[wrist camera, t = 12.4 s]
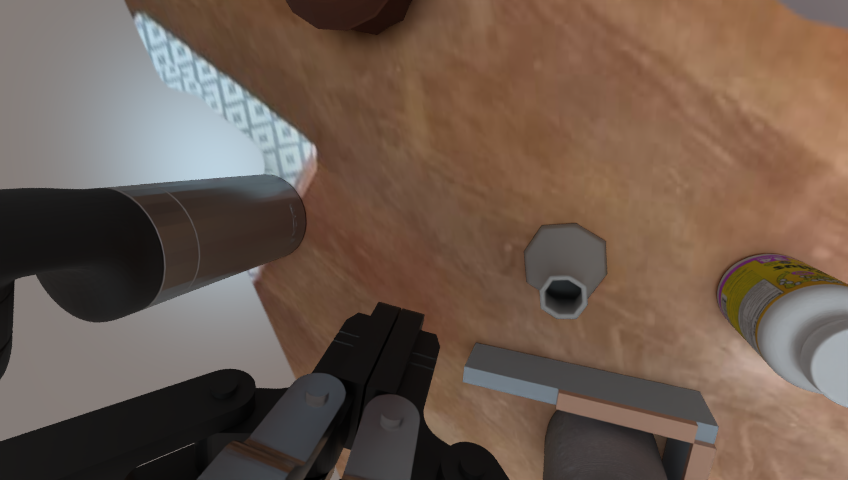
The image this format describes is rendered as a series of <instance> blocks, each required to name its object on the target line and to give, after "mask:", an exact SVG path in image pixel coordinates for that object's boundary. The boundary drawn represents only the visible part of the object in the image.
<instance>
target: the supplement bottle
mask: <svg viewBox="0 0 848 480" xmlns="http://www.w3.org/2000/svg"><path fill="white" fill-rule="evenodd" d="M717 300H718V305H719V307H720V310H721V312H722V313H723V315H724V316H725V318H726V319H727V320H728V322H729V323H730V324H731V325H732V326H733V327H734V328H735V329H736V330H737V331H738V332H739V333H740V334H741V336H742V337H743V338H744V339H745V340H746V341H747V342H748V343H749V344H750V345H751V346H752V347H753V348H754V350H755V351H756V352H757V353H758V354H759V355H760V356H761V357H762V358H763V359H764V360H765V362H766V363H767V364H768V365H769V366H770V367H771V368H772V369H773V370H774V371H775V372H776V373H777V374H778V375H779V376H781V377H782V378H783V379H785V380H786V381H788V382H789V383H791V384H793V385H795V386H797V387H799V388H802V389H804V390H807V391H811V392H815V393H820V394H823V395H824V396H826V397H827V398H828V399H830V400H832V401H833V402H835V403H837V404H839V405H842V406H844V407H847V408H848V284H846V283H844V282H842V281H840V280H838V279H836V278H834V277H832V276H830V275H828V274H826V273H824V272H822V271H820V270H817V269H815V268H813V267H811V266H809V265H807V264H805V263H803V262H801V261H799V260H796V259H794V258H791V257H788V256H784V255H779V254H761V255H755V256H751V257H748V258H745V259H743V260H741V261H739V262H737V263H736V264H734V265H733V266H732V267H731V268H729V269H728V270H727V271H726V273H725V274H724V275H723V277H722V279H721V281H720V283H719V286H718V291H717Z"/></svg>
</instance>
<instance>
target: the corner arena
mask: <svg viewBox="0 0 848 480" xmlns="http://www.w3.org/2000/svg"><path fill="white" fill-rule="evenodd" d="M463 382H465V383H469V384H473V385H477V386H481V387H485V388H490V389H494V390H498V391H502V392H506V393H510V394H514V395H518V396H522V397H526V398H530V399H534V400H538V401H542V402H546V403H550V404H554V405H556V409H558V410H562V411H566V412H570V413H574V414H578V415H582V416H586V417H590V418H594V419H598V420H601V421H605V422H609V423H613V424H617V425H621V426H625V427H629V428H633V429H637V430H641V431H645V432H649V433H653V434H657V435H661V436H665V437H668V439H667V443H666V447H665V451H664V455H663V459H662V464H663V467H664V470H665V473H666V476H667V479H668V480H708V478H709V475H710V471H711V467H712V464H713V460H714V457H715V453H716V447H715V445H714V442H715V438H716V435H717V431H718V428H719V427H718V425H717V423H716V421H715V419H714V417H713V415H712V414H711V412H710V410H709V408H708V406H707V404H706V403H705V401H704V399H703V397H702V395H701V393H700V392H699V391H694V390H690V389H685V388H681V387H676V386H671V385H667V384H662V383H658V382H653V381H649V380H644V379H639V378H635V377H630V376H626V375H621V374H617V373H612V372H607V371H603V370H598V369H594V368H589V367H585V366H580V365H575V364H571V363H566V362H562V361H557V360H553V359H548V358H543V357H539V356H534V355H530V354H525V353H521V352H516V351H511V350H507V349H502V348H498V347H493V346H489V345H484V344H479V343H476V344H475V346H474V348H473V350H472V352H471V354H470V356H469V358H468V360H467V362H466V364H465V366H464V375H463Z"/></svg>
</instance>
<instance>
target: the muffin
mask: <svg viewBox="0 0 848 480" xmlns="http://www.w3.org/2000/svg"><path fill="white" fill-rule="evenodd" d="M411 1H412V0H286V2H287V3H288V5H289V7H290V8H291V10H292V12H293V13H295V14H296V15H298V16H299V17H301V18H302V19H304V20H305V21H307V22H309V23H310V24H312V25H313V26H315V27H316V28H318V29H330V30H345V31H348V30H350V29H351V30H356V31H361V32H366V33H371V34H376V35H378V34H379V33H380V32H382V31H383V30H385V29H386V28H388V27H389V26H391V25H393V24H396V23H398V22H400V21H403V19H404V17H405V15H406V12H407V10H408V7H409V5H410V3H411Z"/></svg>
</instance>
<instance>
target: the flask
mask: <svg viewBox="0 0 848 480" xmlns="http://www.w3.org/2000/svg"><path fill="white" fill-rule="evenodd" d="M524 258H525V271H526V282H527V283H529V284H530V285H532V286H533V287H535V288H536V289H538V290H539V292H540V305H541V309H542V310H544V311H545V312H547V313H548V314H550V315H552V316H553V317H555V318H556V319H577V318H578V316H579V315H580V314H581V312H582V311H583V310H584V309H585V307H586V306H587V305H588V301H587V299H588V298H589V297H590V295H591V294H592V293H593V292H594V290H595V289H596V288H597V286H598V285H599V284H600V282H601V281H602V280H603V279H604V277H605V276H606V275H607V258H606V241H604V240H603V239H601V238H600V237H598V236H596V235H595V234H593V233H591V232H590V231H588V230H586V229H585V228H583V227H581V226H580V225H578V224H576V223H572V224H557V225H542V226H541V227H540V229H539V230H538V232H537V233H536V235H535V236H534V238H533V239H532V241H531V242H530V244H529V245H528V246H527V248H526V249H525V251H524Z"/></svg>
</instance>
